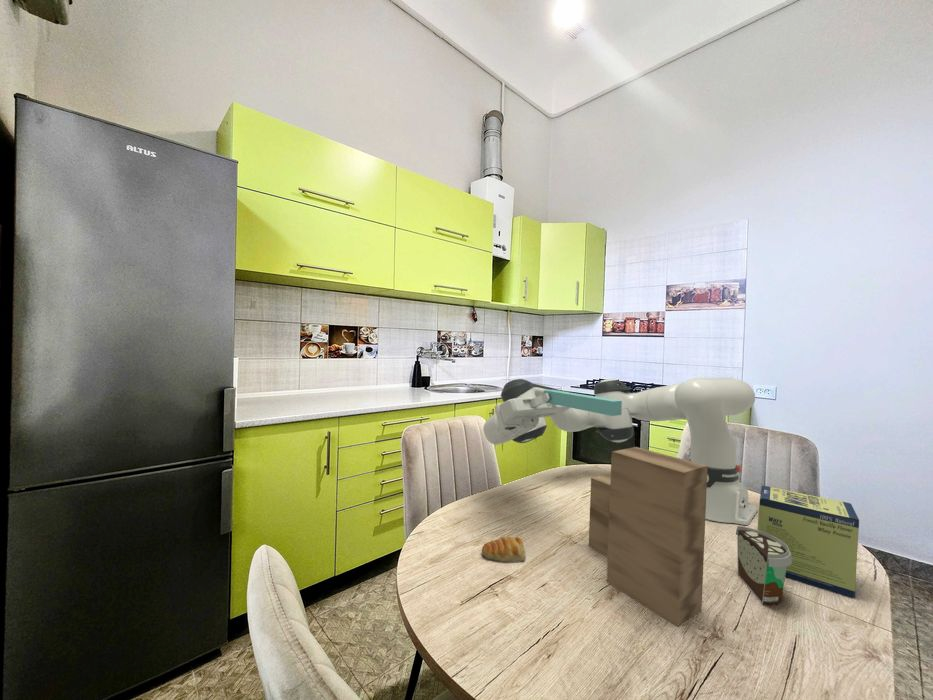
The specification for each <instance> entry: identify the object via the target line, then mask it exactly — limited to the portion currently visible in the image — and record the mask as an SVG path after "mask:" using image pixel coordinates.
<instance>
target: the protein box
mask: <svg viewBox="0 0 933 700" xmlns="http://www.w3.org/2000/svg"><path fill="white" fill-rule="evenodd" d="M759 497H760V498H759V503H758V515H757V529H756V530H759V531H762V532H765V533H767V534H770V535H772V536H774V537H776V538H778V539H779V540H781V541H782V542H784V543H785V544H786V545H787V546H788V549H789V550H790V553H791V558H792V564H791V565H789V566H787V568H786V575H785V578H788V579H791V580H793V581H797V582H800V583H804V584H807V585H809V586H813V587H816V588H819V589H822V590H825V591H829V592H832V593H835V594H838V595H842V596H844V597H847V598H851V599H853V598H854V599H855V598H856V584H857V583H856V581H857V579H856V578H857V562H858V559H857V558H858V546H859V532H860V531H859V530H860V519H859V517H858V515H857V513H856V510H855V509H854V507H853V504H852V503H850V502H845V501H842V500H836V499H830V498H826V497H820V496H816V495H810V494H807V493H806V494H805V493H800V492H797V491H796V492H795V491H791V490H787V489H782V488H777V487H772V486H767V485H761V489H760V496H759Z"/></svg>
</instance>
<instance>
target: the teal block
mask: <svg viewBox="0 0 933 700" xmlns="http://www.w3.org/2000/svg"><path fill="white" fill-rule="evenodd" d="M545 393H550V394H551V396H552V400H550V401H549V402H545V403H550V404H555V405H560V406H565V407H570V408H575V409H580V410H585V411H590V412H595V413H600V414H605V415H610V416H617V415H621V411H622V401H620V400H614V399H608V398H601V397H595V396H594V395H590V394H589V395H587V394H581V393H575V392H571V391H570V392H569V391H562V390H559V391H557V390H544V391H543V394H545Z"/></svg>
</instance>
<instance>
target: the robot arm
mask: <svg viewBox="0 0 933 700" xmlns="http://www.w3.org/2000/svg"><path fill="white" fill-rule="evenodd" d="M631 389H632V388H631V387H630V386H627V385H626V384H625V383H624V382H623V381H621V380H619V379H614V378H605V379H603V380H601V381H599V382H597V383H596V384H595V385H594V388H593V391H594V392H593V395H595V397H601V398H608V399H614V400H620V401H622V411H621V415H617V416H610V415H605V414H600V413H595V412H590V411H585V410H580V409H575V408H570V407H565V406H560V405H555V404H550V403H545V402H549V401H550V400H552V396H551V394H550V393H545V394H543V391H544V390H557V391H560V390H559V389H557V388H554V387H550V386H546V385H542V384H537V383H533V382H531V381H529V380H527V379H523V378H518V379H513V380H511V381H508V382H506V383H505V384H504V386H503V387H502V390H501V393H500V397H501V400H502V403H497V404H496V405H495V406H494V412H495V413H494V414H492V415H491V416H490V417H489V418H488V419H487V420H486V421H485V423H484V425H483V434H484V437H485V438H486V440H487V441H488V442H489V443H490V444H492V445H501V444H502V445H503V444H505V443H507V442H510V441H513V442H515V443H519V444H526V443H529V442H531V441H533V440H535V439H538V438H539V437H541V436H543V434H544V433H545V431H546V429H547V426H548V425H547V423H546V422H547V421H546V419H545V418H548V417H549V418H550V419H551V421H552V422H553V424H554V425H555V426H556V427H557V428H558V429H560V430H561V431H564V432H569V433H573V432H581V431H584V430H587V429H589V428H596V429H597V430H595V432H596V433H597V434H600V436H601V437H602V438H604V439H605V440H607V441H609V442H613V443H623V442H626V441H628V440H629V439H630V440H631V438H633V436H634V431H635V429H634V428H635V427H634V426H633V418H634V419H636V420H639V421H646V422H665V421H666V422H667V421H677V420H678V421H680V420H686V421H687V423H688V427H689V432H690V457H689V459H688V461H691V462H695V463H699V464H703V465H706V466H707V490H706V514H705V520H709V521H714V522H719V523H728V524H729V523H731V524H737V525H741V526H743V525H744V526H747V525H748V526H749V524H750V523H751V521H752V520H753V519H752V518H754V517H755V516H754V515H756V514H757V513H758V507H757V506H755V505H753V504H751V503H749V491H748V489H747V488H746V487H745V486H744V485H743V484H742V483H741V482H740V481H739V478H740V477H739V473H741V472H742V466H741V465H740V464H737V463H736V462H737V461H736V460H737V444H738V443H737V439H736V437H735V436H734V435H733V434H732V433H731V431H730V429H729V425H728V424H727V416H735V415H736V416H737V415H740V414H742V413H745V412H747V411H748V410H750V409H751V408H752V407H753V406H754V404H755V401H756V393H755V390H754V389H753V387H752V386H751V385H750V384H749V383H747V382H746V381H743V380H740V379H737V378H732V377H695V378H691V379H688V380H685V381H682V382H681V383H676V384H670V385H663V386H657V387H653V388H648V389H644V390H641V391H639V392H638V391H637V392H633V393H632V392H631V391H629V390H631ZM632 417H633V418H632ZM756 512H757V513H756Z"/></svg>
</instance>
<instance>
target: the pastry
mask: <svg viewBox="0 0 933 700" xmlns="http://www.w3.org/2000/svg"><path fill="white" fill-rule="evenodd" d="M524 544H525V543H524V541H523V539H522V537H520V536H518V535H516V536H515V537H513V536H500V538H497V539H495V540H494V539H493V540H490V541H488V542H486V543H484V545H483V546H482V547H481V554H482V556H483V557H485V559H487V560H490V561H496V562H500V563H518V562H524V561H525V559H526V557H527V555H526V554H527V553H526V550H525V546H524Z"/></svg>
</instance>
